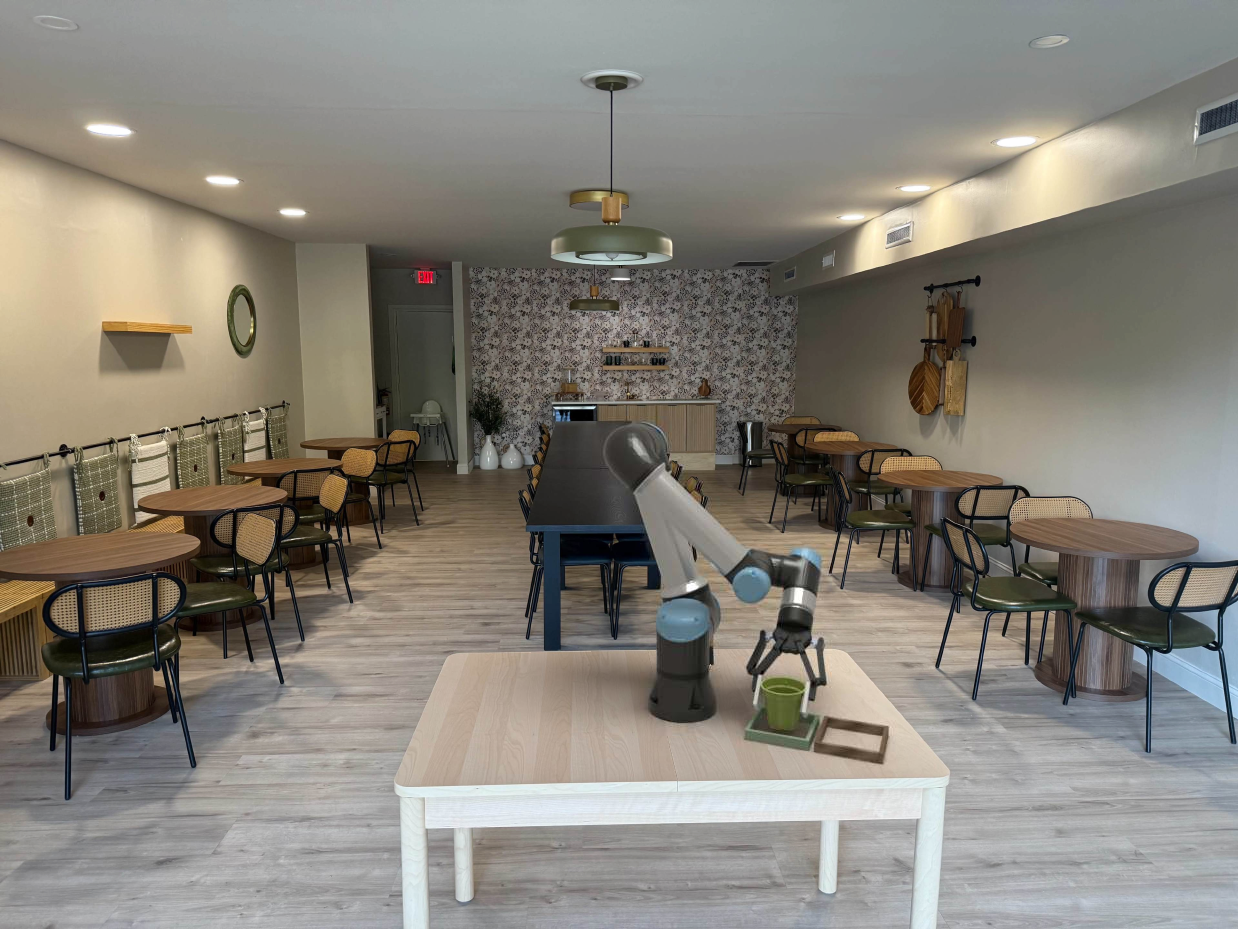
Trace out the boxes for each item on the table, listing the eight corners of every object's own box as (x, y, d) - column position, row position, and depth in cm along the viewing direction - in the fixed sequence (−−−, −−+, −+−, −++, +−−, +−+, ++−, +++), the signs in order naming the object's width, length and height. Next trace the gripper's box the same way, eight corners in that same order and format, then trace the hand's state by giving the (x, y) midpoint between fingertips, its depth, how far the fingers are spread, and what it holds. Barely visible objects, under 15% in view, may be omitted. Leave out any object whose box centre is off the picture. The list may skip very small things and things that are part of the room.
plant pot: (750, 722, 169) (750, 683, 168) (781, 711, 175) (782, 672, 174) (783, 739, 162) (784, 698, 161) (815, 726, 167) (816, 686, 166)
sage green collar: (744, 739, 165) (744, 730, 165) (759, 713, 177) (759, 705, 177) (808, 750, 160) (808, 741, 160) (819, 723, 172) (819, 714, 171)
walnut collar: (813, 751, 159) (814, 742, 159) (824, 724, 171) (824, 715, 171) (882, 764, 154) (882, 754, 154) (888, 735, 166) (888, 726, 166)
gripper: (849, 627, 176) (836, 727, 163) (750, 615, 184) (730, 709, 172) (846, 610, 170) (833, 712, 158) (744, 599, 179) (724, 695, 166)
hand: (779, 710), depth 165 cm, fingers closed on plant pot, 9 cm apart
